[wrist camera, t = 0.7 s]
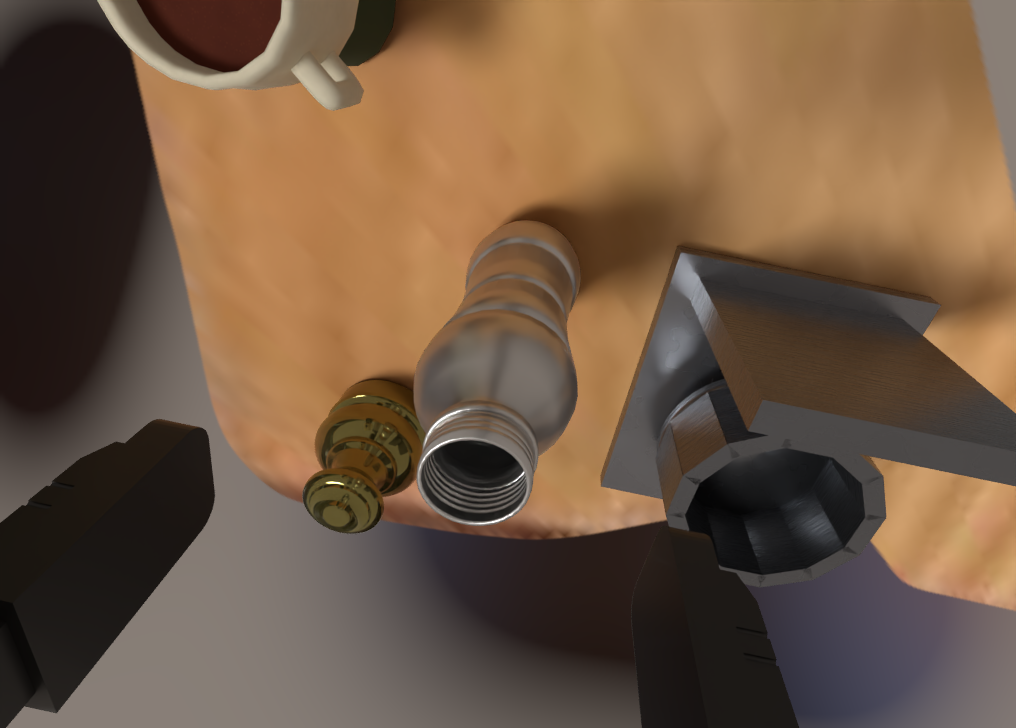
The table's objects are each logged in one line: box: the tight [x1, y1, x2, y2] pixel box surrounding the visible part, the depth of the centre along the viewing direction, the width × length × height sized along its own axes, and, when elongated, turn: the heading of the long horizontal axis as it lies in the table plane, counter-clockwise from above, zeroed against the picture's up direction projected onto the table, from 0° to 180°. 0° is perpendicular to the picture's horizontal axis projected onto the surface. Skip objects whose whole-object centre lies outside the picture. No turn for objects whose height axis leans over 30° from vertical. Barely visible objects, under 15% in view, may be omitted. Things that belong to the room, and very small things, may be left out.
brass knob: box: [302, 380, 426, 534], centre depth 37 cm, size 7×8×10 cm
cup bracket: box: [600, 246, 1016, 587], centre depth 31 cm, size 18×15×14 cm
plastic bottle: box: [414, 220, 581, 526], centre depth 26 cm, size 6×7×20 cm
